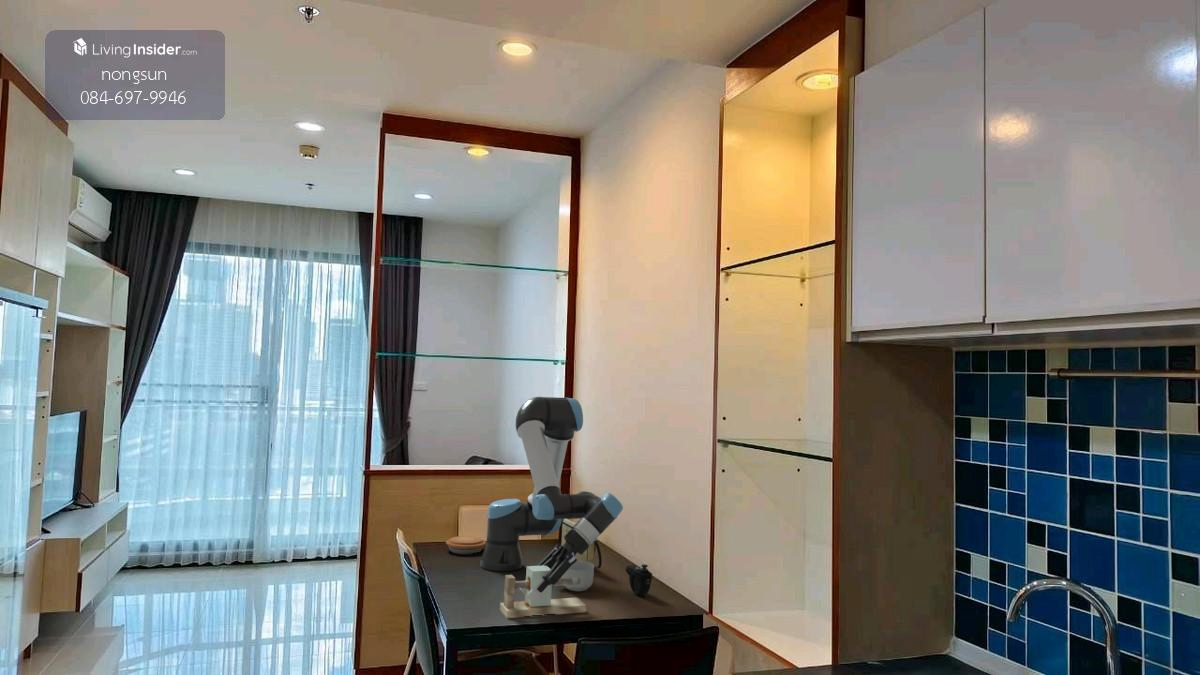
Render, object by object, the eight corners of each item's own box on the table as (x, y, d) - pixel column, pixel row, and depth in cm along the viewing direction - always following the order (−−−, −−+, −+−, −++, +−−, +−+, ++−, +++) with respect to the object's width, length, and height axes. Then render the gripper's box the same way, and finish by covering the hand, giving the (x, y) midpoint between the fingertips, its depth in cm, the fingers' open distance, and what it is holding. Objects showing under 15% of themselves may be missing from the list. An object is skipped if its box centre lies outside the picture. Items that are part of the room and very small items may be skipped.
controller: (641, 599, 236) (642, 567, 236) (623, 589, 247) (624, 558, 247) (653, 598, 238) (654, 566, 238) (634, 588, 249) (635, 557, 249)
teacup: (597, 587, 248) (599, 562, 248) (586, 595, 238) (587, 569, 238) (558, 581, 253) (560, 557, 253) (546, 589, 242) (547, 564, 243)
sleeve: (544, 599, 223) (545, 565, 224) (550, 605, 218) (552, 570, 218) (524, 600, 221) (526, 566, 221) (530, 606, 215) (532, 571, 216)
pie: (449, 556, 280) (450, 543, 281) (441, 547, 295) (442, 534, 295) (490, 554, 287) (490, 541, 287) (480, 546, 301) (480, 533, 301)
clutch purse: (606, 574, 266) (608, 531, 266) (588, 575, 263) (590, 532, 264) (574, 555, 293) (576, 516, 294) (557, 556, 290) (559, 516, 291)
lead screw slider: (576, 604, 228) (578, 569, 229) (586, 612, 220) (587, 575, 221) (499, 609, 219) (501, 573, 220) (506, 618, 211) (508, 580, 212)
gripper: (600, 552, 217) (544, 614, 210) (577, 538, 235) (525, 595, 228) (584, 534, 215) (527, 596, 208) (562, 522, 233) (508, 578, 226)
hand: (526, 595), depth 218 cm, fingers closed on sleeve, 6 cm apart
